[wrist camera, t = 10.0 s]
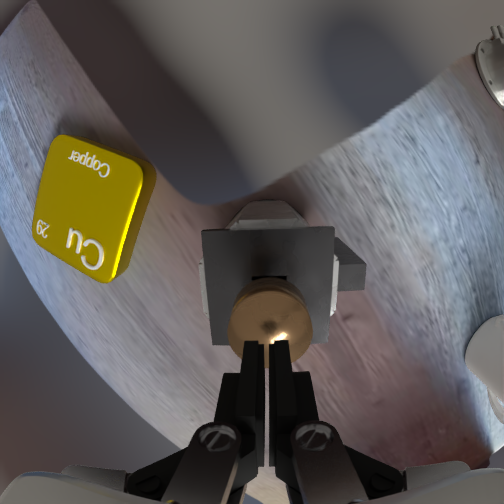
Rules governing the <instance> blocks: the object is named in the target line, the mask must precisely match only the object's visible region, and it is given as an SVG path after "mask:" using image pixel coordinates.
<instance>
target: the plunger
mask: <svg viewBox="0 0 504 504" xmlns="http://www.w3.org/2000/svg"><path fill="white" fill-rule="evenodd" d="M227 336H228V341H229V344H230V346H231V348H232V349H233V351H234V352H235V353H236V355H237V356H238V357H240V358H241V359H242V355H243V347H244V341H253V340H259V344H264V359H265V368H269V344H274V340H288V341H289V349H290V357H291V363H292V362H294V361H296V360H297V359H299V358H300V357H301V356H302V355H303V354H304V353H305V352H306V350H307V349H308V347H309V345H310V343H311V340H312V336H313V327H312V322H311V319H310V315H309V312H308V308H307V305H306V302H305V299H304V296H303V295H302V293H301V292H300V290H299V289H298V288H297V287H296V286H294V285H293V284H292V283H290V282H288V281H286V276H252V282H250V283H249V284H247V285H246V286H245V287H243V288H242V289H241V291H240V292H239V293H238V295H237V296H236V298H235V301H234V304H233V308H232V312H231V316H230V320H229V324H228V330H227Z"/></svg>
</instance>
